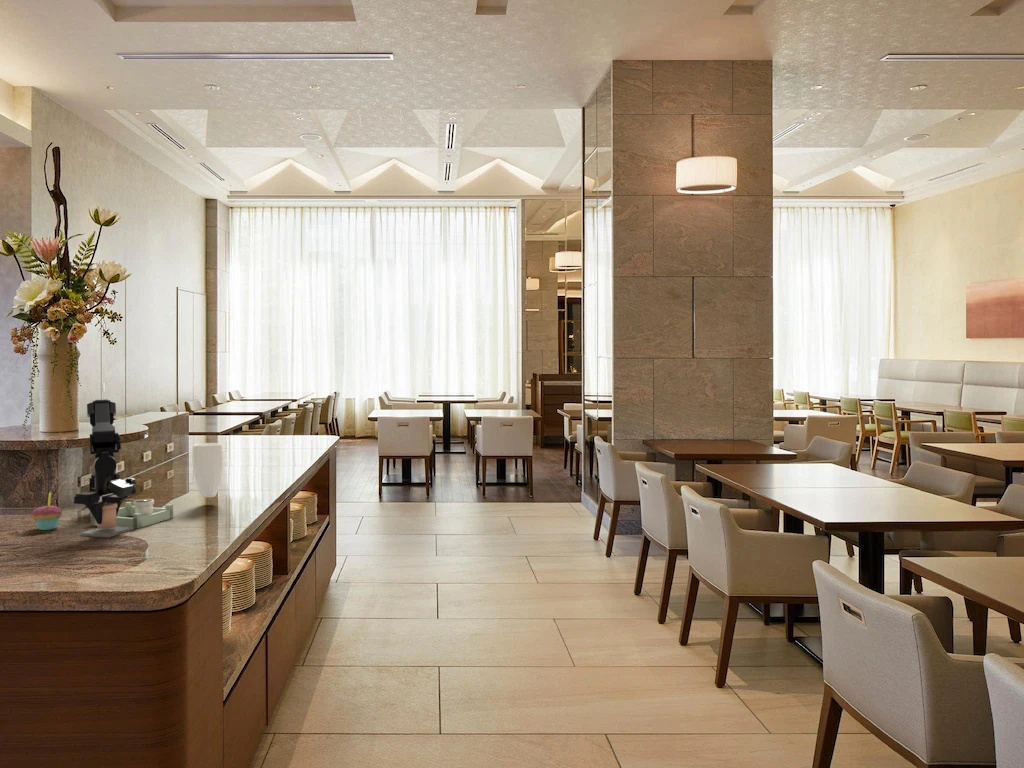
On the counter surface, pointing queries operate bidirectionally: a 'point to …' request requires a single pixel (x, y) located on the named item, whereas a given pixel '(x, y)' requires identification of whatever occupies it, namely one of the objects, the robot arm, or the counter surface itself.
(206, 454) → the cup
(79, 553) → the counter surface
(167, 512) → the cold frame
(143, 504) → the pot
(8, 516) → the counter surface
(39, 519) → the cupcake
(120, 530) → the slate tile
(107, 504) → the terracotta pot
